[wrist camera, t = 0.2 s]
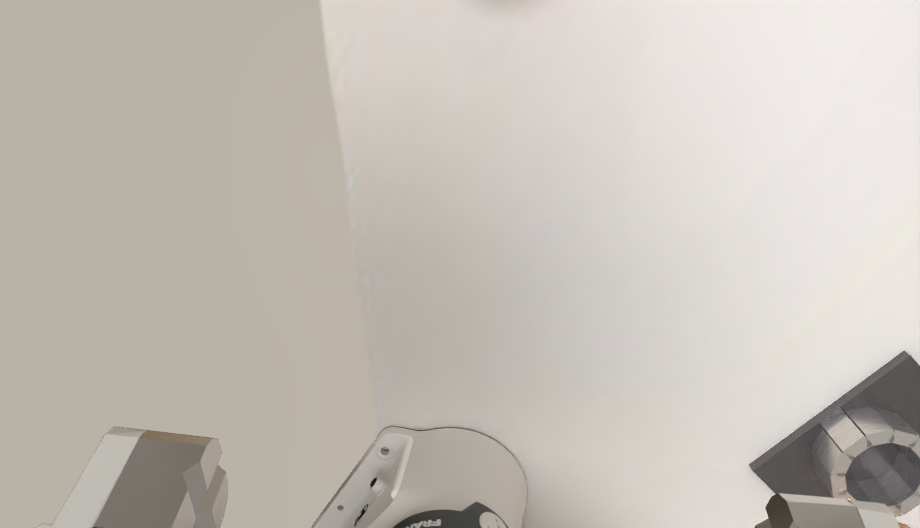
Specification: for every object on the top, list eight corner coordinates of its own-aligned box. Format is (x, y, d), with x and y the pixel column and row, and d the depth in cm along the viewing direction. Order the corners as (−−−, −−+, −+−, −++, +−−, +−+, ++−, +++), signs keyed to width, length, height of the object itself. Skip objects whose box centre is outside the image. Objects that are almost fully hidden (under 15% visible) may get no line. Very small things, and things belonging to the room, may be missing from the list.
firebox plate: (814, 530, 72) (837, 566, 67) (749, 464, 70) (767, 497, 65) (969, 423, 67) (1005, 454, 63) (904, 350, 66) (936, 376, 61)
